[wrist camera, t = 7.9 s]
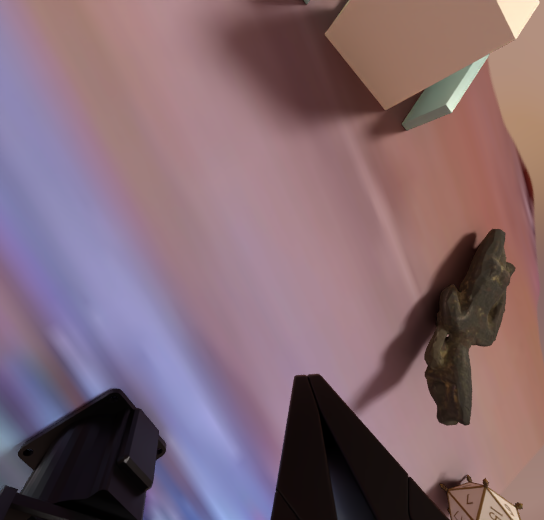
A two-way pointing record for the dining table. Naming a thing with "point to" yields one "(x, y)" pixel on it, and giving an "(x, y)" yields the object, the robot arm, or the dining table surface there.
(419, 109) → the box
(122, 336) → the dining table surface
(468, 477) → the game die
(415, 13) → the bookend
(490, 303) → the statue
